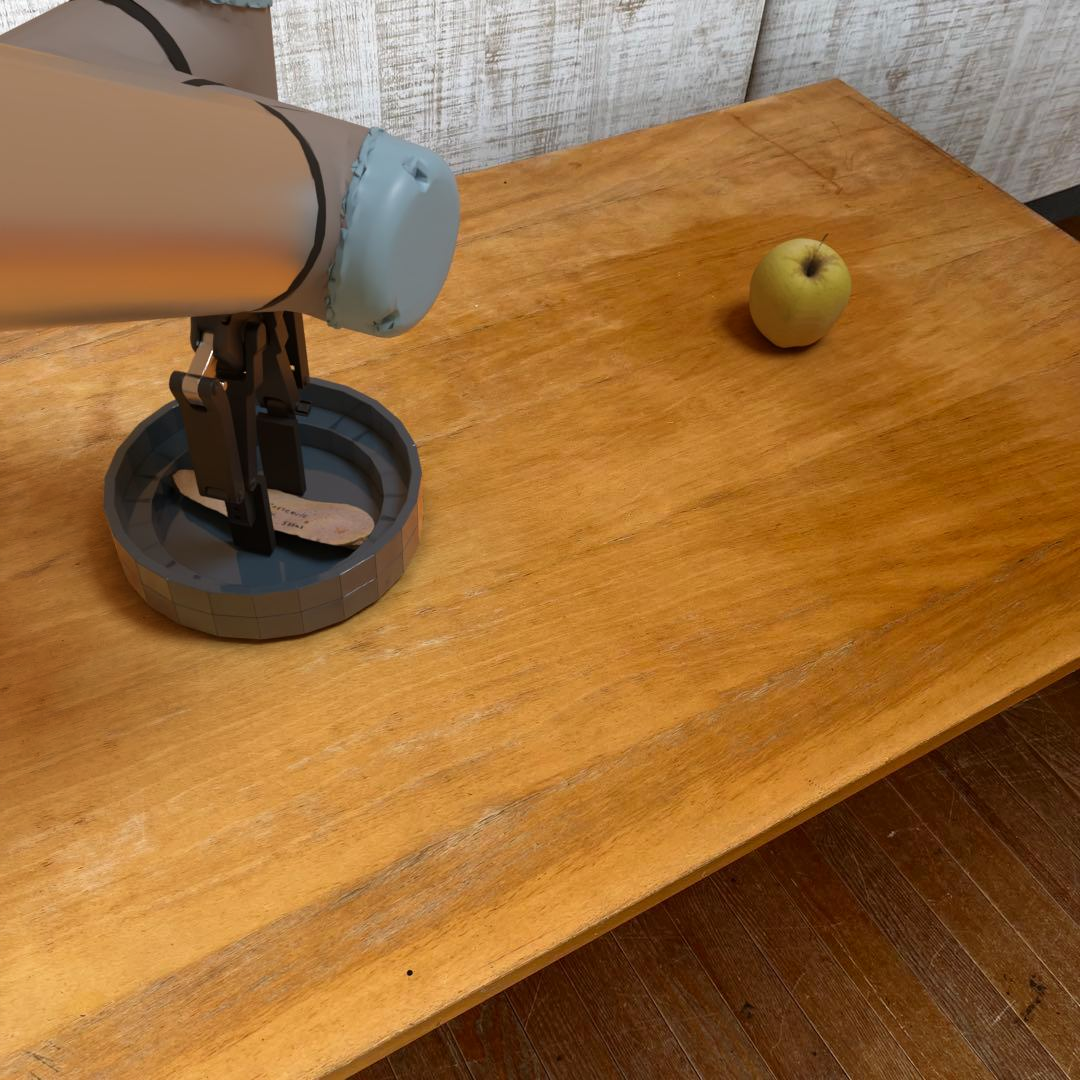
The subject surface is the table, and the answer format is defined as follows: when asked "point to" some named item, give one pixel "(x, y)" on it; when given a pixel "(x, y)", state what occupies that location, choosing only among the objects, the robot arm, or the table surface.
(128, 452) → the bowl
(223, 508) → the stone tool
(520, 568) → the table surface
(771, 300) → the apple
